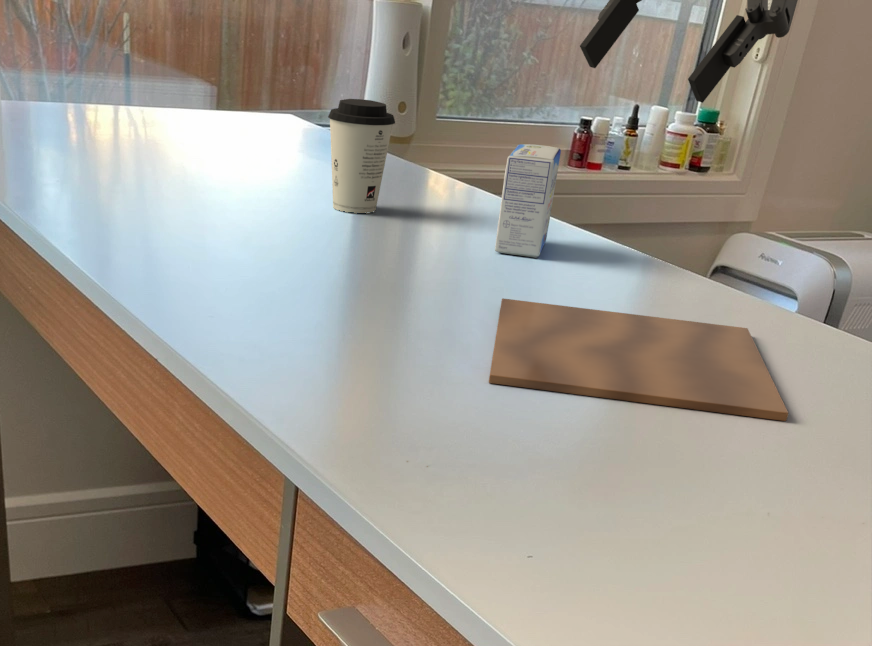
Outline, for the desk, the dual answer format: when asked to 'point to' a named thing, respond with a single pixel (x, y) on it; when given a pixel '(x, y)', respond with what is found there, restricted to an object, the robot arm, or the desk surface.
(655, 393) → the wooden board
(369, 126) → the coffee cup
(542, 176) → the medicine box
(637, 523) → the desk surface
